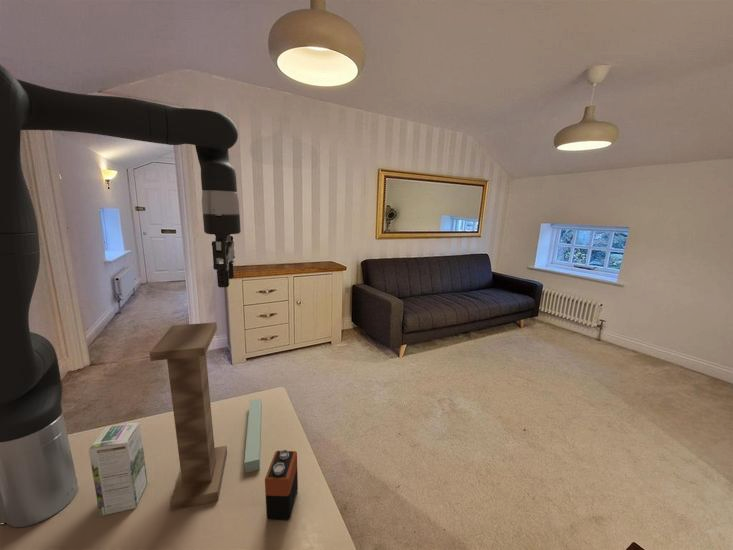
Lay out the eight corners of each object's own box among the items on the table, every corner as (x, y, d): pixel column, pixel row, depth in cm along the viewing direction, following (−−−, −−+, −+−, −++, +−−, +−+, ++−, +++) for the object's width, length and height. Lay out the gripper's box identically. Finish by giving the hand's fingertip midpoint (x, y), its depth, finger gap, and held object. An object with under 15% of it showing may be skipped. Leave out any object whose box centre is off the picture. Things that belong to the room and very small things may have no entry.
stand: (171, 511, 56) (149, 352, 49) (188, 460, 67) (172, 325, 60) (218, 500, 58) (204, 347, 51) (227, 452, 69) (216, 322, 63)
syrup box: (114, 489, 60) (103, 426, 57) (149, 482, 61) (140, 420, 58) (99, 517, 54) (85, 449, 51) (137, 508, 56) (126, 442, 53)
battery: (265, 521, 55) (263, 475, 52) (277, 487, 61) (275, 445, 59) (289, 521, 55) (288, 476, 52) (298, 488, 61) (297, 446, 59)
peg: (245, 474, 64) (244, 462, 64) (250, 409, 85) (249, 400, 84) (260, 471, 65) (259, 459, 65) (261, 408, 86) (261, 398, 85)
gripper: (209, 211, 73) (214, 276, 76) (195, 212, 60) (202, 291, 63) (242, 212, 75) (246, 275, 79) (235, 213, 62) (240, 289, 65)
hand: (226, 282), depth 71 cm, fingers open, 8 cm apart
